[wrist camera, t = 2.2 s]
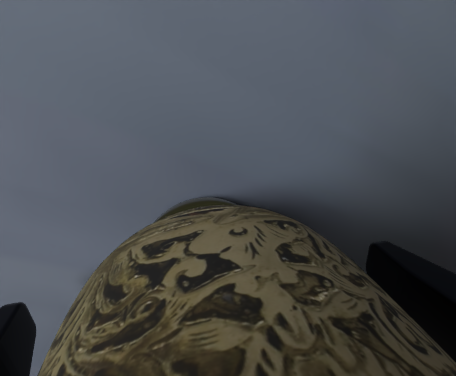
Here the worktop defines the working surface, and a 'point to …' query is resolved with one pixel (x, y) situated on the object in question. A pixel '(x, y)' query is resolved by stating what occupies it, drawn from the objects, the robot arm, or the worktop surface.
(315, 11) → the worktop surface
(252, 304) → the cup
